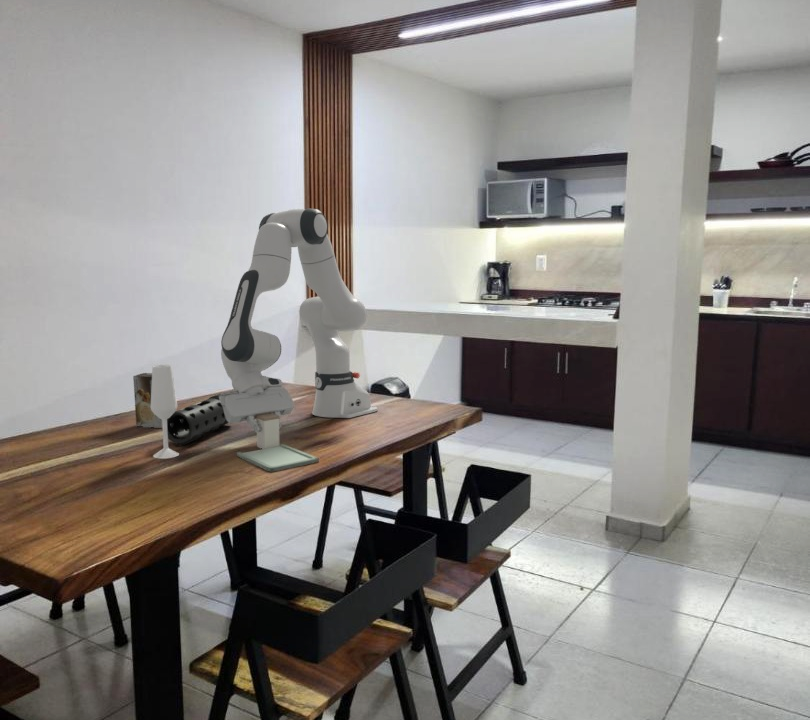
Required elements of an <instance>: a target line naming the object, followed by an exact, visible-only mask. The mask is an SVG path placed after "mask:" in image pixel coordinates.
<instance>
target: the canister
mask: <svg viewBox="0 0 810 720" xmlns="http://www.w3.org/2000/svg"><path fill="white" fill-rule="evenodd" d="M255 422H256V423H258V424H261V427H262V430H261V432H256V447H257V448H259V449H261V448H262V449H267V448H272V447H278V446H280V428H279V415H276V414H273V413H267V414H260V415H256V419H255ZM262 449H261V450H262Z"/></svg>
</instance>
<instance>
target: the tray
mask: <svg viewBox="0 0 810 720" xmlns="http://www.w3.org/2000/svg"><path fill="white" fill-rule="evenodd" d="M237 456H238V457H237ZM236 457H237V458H239V457H240V459H241V458H242V460H244V461H245V462H247V463H250V464H252V465H254V466H257V467H259V468H261V469H263V470H265V471H267V472H269V473H273V472H274V473H275V472H279V471H282V470H287V469H293V468H297V467H302V466H306V465H311V463H312V464H315V463H314V462H316V463H319V461H320V458H319V457H316V456H314V455H312V454H309V453H307V452H304V451H302V450H299V449H297V448H294V447H291V446H289V445H287V444H285V443H282V444H279V446H278V447H272V448H267V449H257V450H252V451H247V452H242V451H239V452H236Z"/></svg>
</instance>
